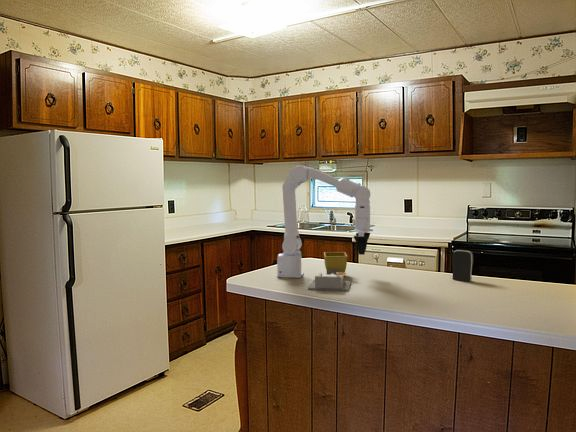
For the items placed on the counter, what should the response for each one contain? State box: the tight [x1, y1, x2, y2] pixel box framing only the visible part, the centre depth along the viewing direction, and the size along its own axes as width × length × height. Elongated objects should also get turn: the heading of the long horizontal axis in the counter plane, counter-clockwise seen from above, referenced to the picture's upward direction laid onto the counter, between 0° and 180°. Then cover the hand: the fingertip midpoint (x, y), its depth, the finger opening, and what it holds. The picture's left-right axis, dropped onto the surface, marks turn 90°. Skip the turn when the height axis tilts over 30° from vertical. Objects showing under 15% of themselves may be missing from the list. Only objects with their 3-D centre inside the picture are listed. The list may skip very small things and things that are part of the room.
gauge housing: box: [307, 272, 352, 293], centre depth 161 cm, size 14×12×5 cm
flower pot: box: [323, 251, 348, 275], centre depth 178 cm, size 9×9×9 cm
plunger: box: [322, 269, 347, 277], centre depth 167 cm, size 8×10×4 cm
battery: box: [452, 249, 474, 282], centre depth 169 cm, size 7×4×11 cm, turn 50°
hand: (362, 252), depth 173 cm, fingers open, 7 cm apart
